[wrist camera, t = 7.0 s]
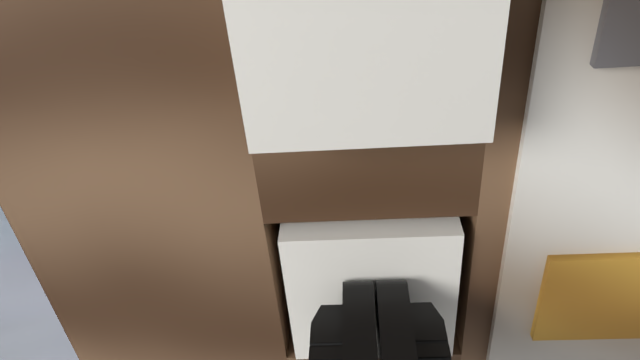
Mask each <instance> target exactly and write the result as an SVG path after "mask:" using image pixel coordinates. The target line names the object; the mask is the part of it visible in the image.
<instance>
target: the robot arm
mask: <svg viewBox="0 0 640 360" xmlns="http://www.w3.org/2000/svg"><path fill="white" fill-rule="evenodd" d="M376 317H377V331H376ZM377 345H378V347H377ZM308 360H451V352H450V347H449V344H448V337H447V332H446V327H445V322H444V319H443V318H442V316H441V315H440V314H439V312H438V311H437V309H436V308H435V307H434V305H433V304H432V303H431V302H415V303H410V297H409V290H408V283H407V280H376V316H375V300H374V285H373V281H345V282H343V291H342V304H341V305H321V306H320V307H319V309H318V311H317V313H316V315H315V316H314V318H313V320H312V322H311V328H310V347H309V359H308Z"/></svg>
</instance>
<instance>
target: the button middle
mask: <svg viewBox="0 0 640 360" xmlns="http://www.w3.org/2000/svg"><path fill="white" fill-rule="evenodd" d="M510 1H511V0H222V3H223V9H224V14H225V20H226V26H227V32H228V37H229V43H230V49H231V54H232V60H233V66H234V72H235V77H236V83H237V89H238V95H239V100H240V106H241V112H242V117H243V123H244V129H245V135H246V140H247V146H248V152H249V154H258V153H279V152H301V151H323V150H344V149H366V148H388V147H409V146H431V145H453V144H474V143H493V139H494V131H495V122H496V114H497V106H498V98H499V90H500V82H501V74H502V66H503V58H504V50H505V41H506V33H507V25H508V17H509V9H510Z"/></svg>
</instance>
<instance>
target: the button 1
mask: <svg viewBox="0 0 640 360" xmlns="http://www.w3.org/2000/svg"><path fill="white" fill-rule="evenodd" d="M463 245H464V232H463V229H462V225H461V222H460V218H459V217H435V218H407V219H380V220H353V221H326V222H299V223H280V229H279V236H278V248H279V254H280V261H281V267H282V274H283V280H284V286H285V293H286V299H287V306H288V312H289V318H290V325H291V331H292V338H293V344H294V350H295V357H296V359H309V347H310V328H311V322H312V320H313V318H314V316H315V315H316V313H317V311H318V309H319V307H320V306H321V305H341V304H342V291H343V282H345V281H373V285H374V300H375V316H376V280H407V283H408V290H409V297H410V303H415V302H431V303H432V304H433V305H434V307H435V308H436V309H437V311H438V312H439V314H440V315H441V316H442V318H443V319H444V322H445V327H446V332H447V337H448V344H449V347H450V352H451V356H452V355H453V345H454V335H455V325H456V315H457V305H458V295H459V285H460V275H461V265H462V255H463ZM376 331H377V317H376ZM377 347H378V345H377Z"/></svg>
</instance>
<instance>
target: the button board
mask: <svg viewBox="0 0 640 360" xmlns="http://www.w3.org/2000/svg"><path fill="white" fill-rule="evenodd" d="M0 206H1V208H2V210H3V212H4V214H5V216H6V218H7V220H8V222H9V223H10V225H11V227H12V229H13V231H14V233H15V235H16V237H17V239H18V241H19V243H20V245H21V247H22V249H23V251H24V253H25V255H26V257H27V259H28V261H29V262H30V264H31V266H32V268H33V270H34V272H35V274H36V276H37V278H38V280H39V282H40V284H41V286H42V288H43V290H44V292H45V294H46V296H47V298H48V300H49V302H50V303H51V305H52V307H53V309H54V311H55V313H56V315H57V317H58V319H59V321H60V323H61V325H62V327H63V329H64V331H65V333H66V335H67V337H68V339H69V341H70V342H71V344H72V346H73V348H74V350H75V352H76V354H77V356H78V358H79V360H308V359H296V357H295V350H294V344H293V338H292V331H291V325H290V318H289V312H288V306H287V299H286V293H285V286H284V280H283V274H282V267H281V261H280V254H279V248H278V236H279V229H280V223H299V222H326V221H353V220H380V219H407V218H435V217H459V218H460V222H461V225H462V229H463V232H464V245H463V255H462V265H461V275H460V285H459V295H458V305H457V315H456V325H455V335H454V345H453V355H452V356H451V360H640V0H511V1H510V9H509V17H508V25H507V33H506V41H505V50H504V58H503V66H502V74H501V82H500V90H499V98H498V106H497V114H496V122H495V131H494V139H493V143H474V144H453V145H431V146H409V147H388V148H366V149H344V150H323V151H301V152H279V153H258V154H249V152H248V146H247V140H246V135H245V129H244V123H243V117H242V112H241V106H240V100H239V95H238V89H237V83H236V77H235V72H234V66H233V60H232V54H231V49H230V43H229V37H228V32H227V26H226V20H225V14H224V9H223V3H222V0H0Z"/></svg>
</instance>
